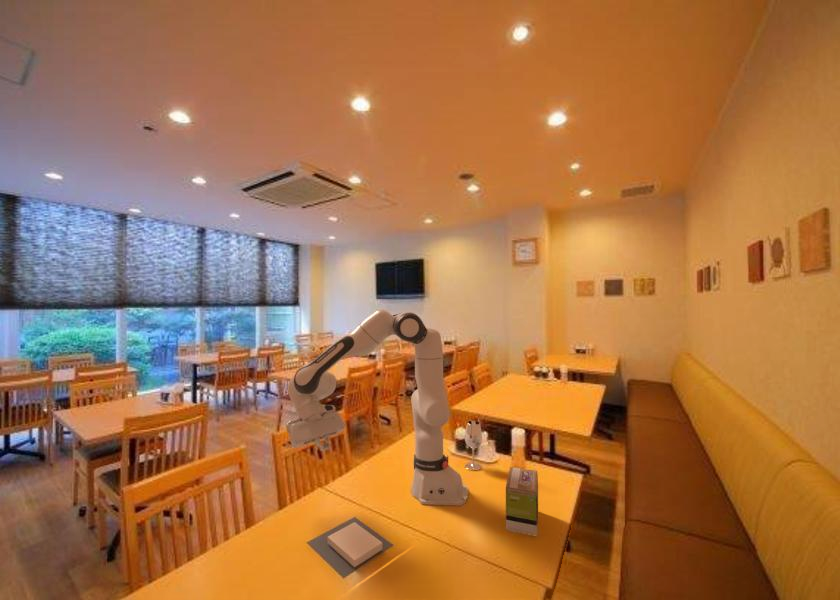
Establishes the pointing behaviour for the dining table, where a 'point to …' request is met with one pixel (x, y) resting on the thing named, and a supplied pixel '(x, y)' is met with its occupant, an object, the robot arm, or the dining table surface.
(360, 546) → the glazed tile
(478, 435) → the wineglass
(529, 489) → the tea box
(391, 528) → the dining table surface
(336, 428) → the robot arm
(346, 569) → the slate mat
